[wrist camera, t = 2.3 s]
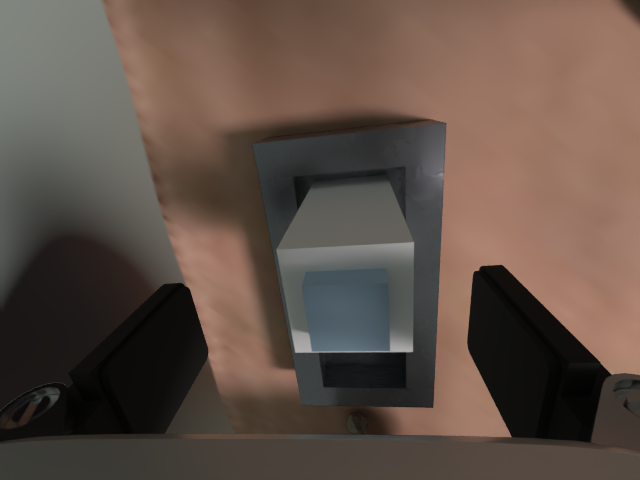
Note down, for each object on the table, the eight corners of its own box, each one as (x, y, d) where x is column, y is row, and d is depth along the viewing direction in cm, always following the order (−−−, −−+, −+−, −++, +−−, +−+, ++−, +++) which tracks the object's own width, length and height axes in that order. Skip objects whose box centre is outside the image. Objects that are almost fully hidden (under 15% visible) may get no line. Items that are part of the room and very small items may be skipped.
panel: (268, 137, 18) (252, 143, 15) (431, 119, 16) (446, 122, 14) (308, 371, 25) (301, 404, 22) (424, 372, 23) (433, 407, 21)
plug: (314, 180, 17) (269, 262, 9) (386, 174, 17) (419, 255, 8) (321, 245, 19) (290, 370, 10) (388, 241, 18) (417, 371, 10)
